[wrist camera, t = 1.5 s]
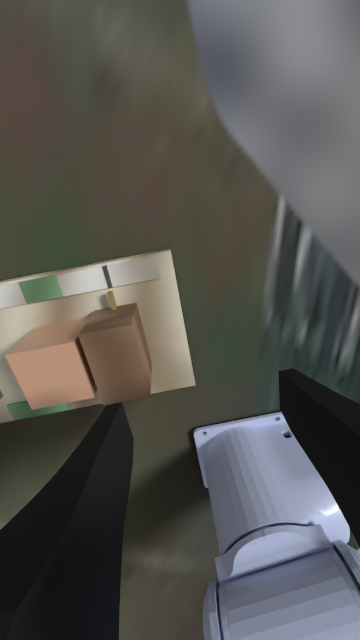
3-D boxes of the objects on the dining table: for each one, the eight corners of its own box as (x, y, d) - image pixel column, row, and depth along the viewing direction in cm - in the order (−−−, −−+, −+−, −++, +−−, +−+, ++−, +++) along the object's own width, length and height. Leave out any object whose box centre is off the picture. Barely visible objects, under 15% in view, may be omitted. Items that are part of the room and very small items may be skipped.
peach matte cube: (90, 317, 19) (73, 342, 15) (106, 364, 20) (94, 397, 16) (35, 327, 19) (4, 355, 15) (55, 374, 20) (31, 409, 16)
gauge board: (170, 248, 18) (170, 251, 17) (193, 378, 22) (195, 386, 21) (-70, 294, 18) (-85, 299, 17) (-1, 416, 22) (-10, 427, 21)
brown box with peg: (132, 286, 18) (125, 304, 14) (151, 363, 20) (150, 396, 16) (89, 294, 18) (70, 314, 14) (113, 370, 20) (103, 405, 16)
